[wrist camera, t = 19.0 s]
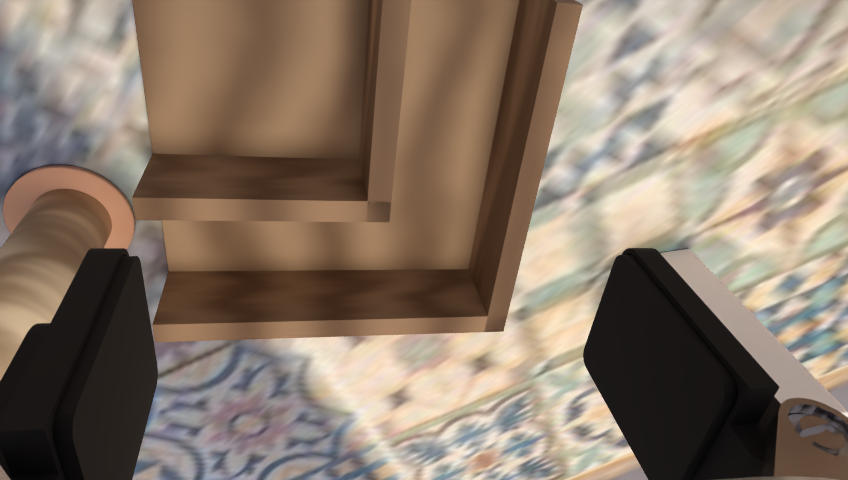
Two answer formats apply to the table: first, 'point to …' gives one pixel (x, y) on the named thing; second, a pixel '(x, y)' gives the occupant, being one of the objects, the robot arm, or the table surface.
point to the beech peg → (45, 261)
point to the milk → (750, 332)
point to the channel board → (345, 160)
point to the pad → (75, 179)
